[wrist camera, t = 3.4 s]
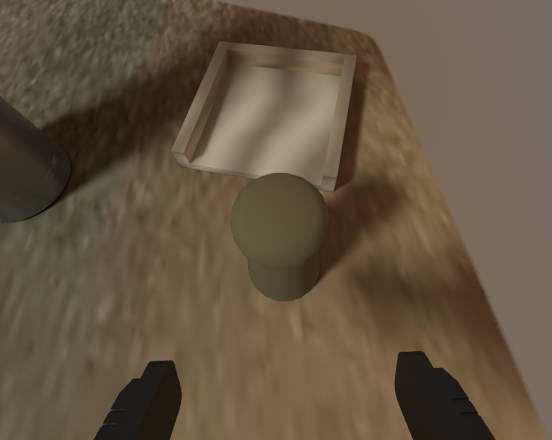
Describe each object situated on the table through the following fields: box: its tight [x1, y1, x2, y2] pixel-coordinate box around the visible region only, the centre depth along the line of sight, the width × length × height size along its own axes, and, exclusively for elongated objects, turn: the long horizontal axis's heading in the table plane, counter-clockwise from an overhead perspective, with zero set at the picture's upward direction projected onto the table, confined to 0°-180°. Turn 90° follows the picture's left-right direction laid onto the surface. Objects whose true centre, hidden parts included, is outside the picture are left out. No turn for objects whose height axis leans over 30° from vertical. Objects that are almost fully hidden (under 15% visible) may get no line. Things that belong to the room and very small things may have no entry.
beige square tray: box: [171, 41, 357, 192], centre depth 29 cm, size 15×15×2 cm
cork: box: [230, 173, 329, 301], centre depth 19 cm, size 6×6×11 cm
